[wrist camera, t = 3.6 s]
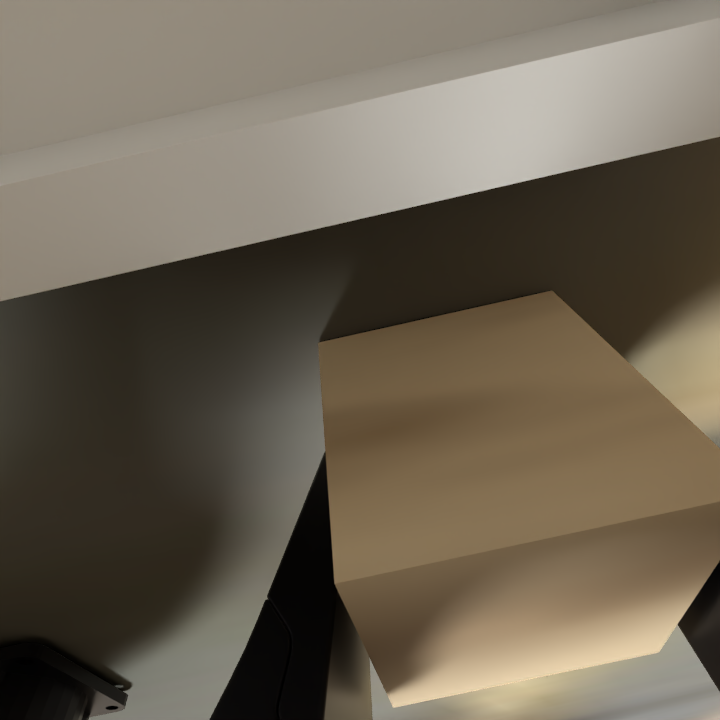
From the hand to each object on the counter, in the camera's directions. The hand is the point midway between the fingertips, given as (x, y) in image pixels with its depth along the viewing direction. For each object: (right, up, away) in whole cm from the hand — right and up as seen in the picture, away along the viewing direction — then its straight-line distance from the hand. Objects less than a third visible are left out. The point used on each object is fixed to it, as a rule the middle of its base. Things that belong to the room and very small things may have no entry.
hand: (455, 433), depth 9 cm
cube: (0, +1, +1) cm, 1 cm away
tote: (-6, +11, -8) cm, 14 cm away
